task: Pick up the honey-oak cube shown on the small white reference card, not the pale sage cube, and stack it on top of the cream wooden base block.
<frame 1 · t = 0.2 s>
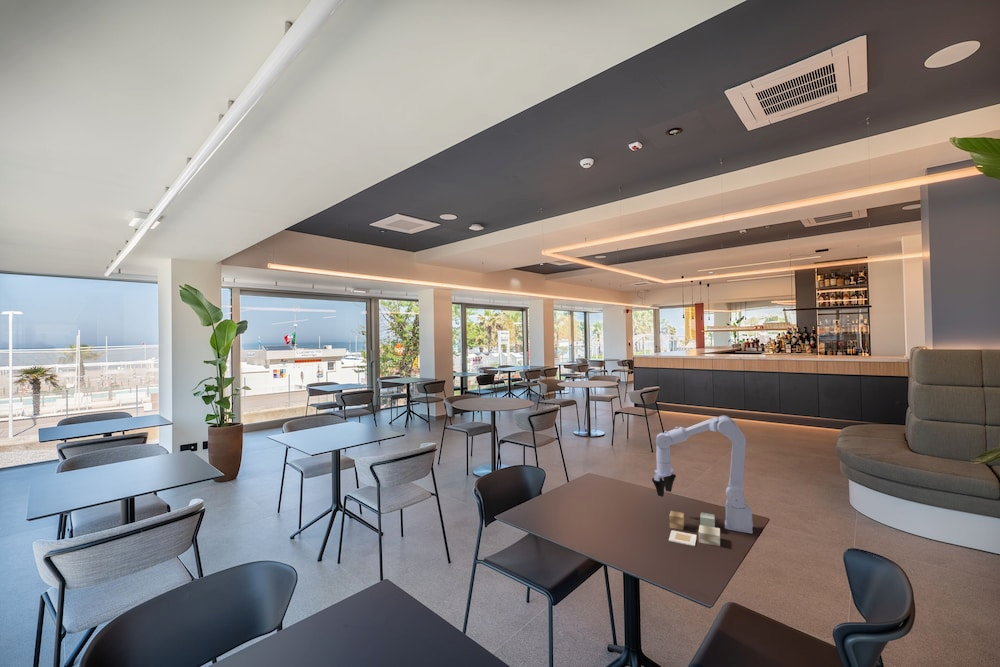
hand: (664, 493, 176), 10 cm above the table, tool pointing down, fingers open, 7 cm apart
sage cube: (707, 528, 165), on the table
base block: (709, 541, 155), on the table
reference card: (682, 538, 156), on the table
oak cube: (677, 526, 166), on the table
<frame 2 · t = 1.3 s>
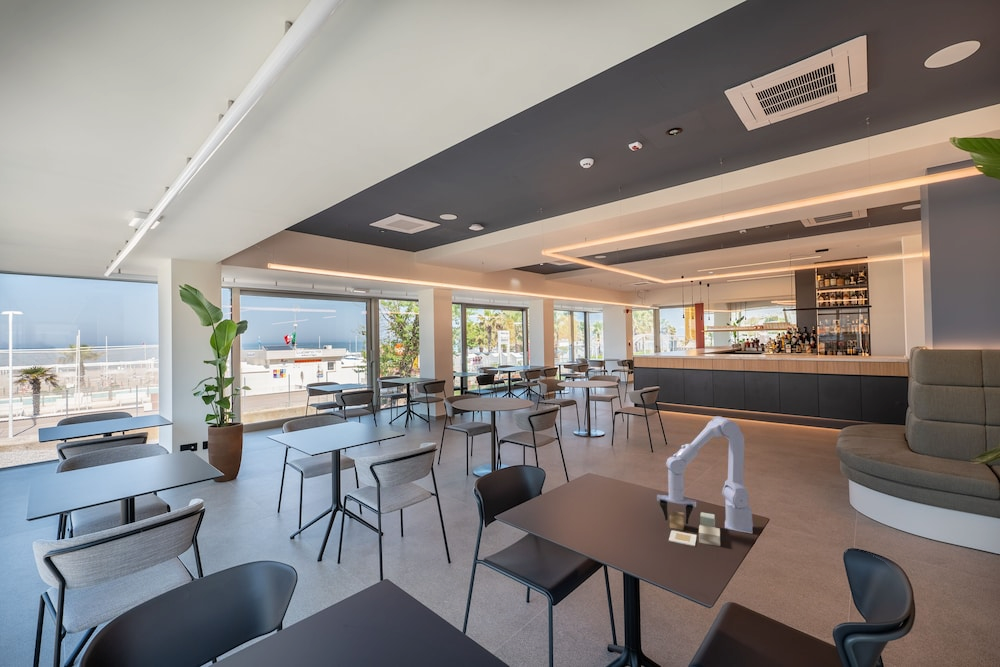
hand: (676, 521, 166), 2 cm above the table, tool pointing down, fingers open, 7 cm apart
nothing on the table moved.
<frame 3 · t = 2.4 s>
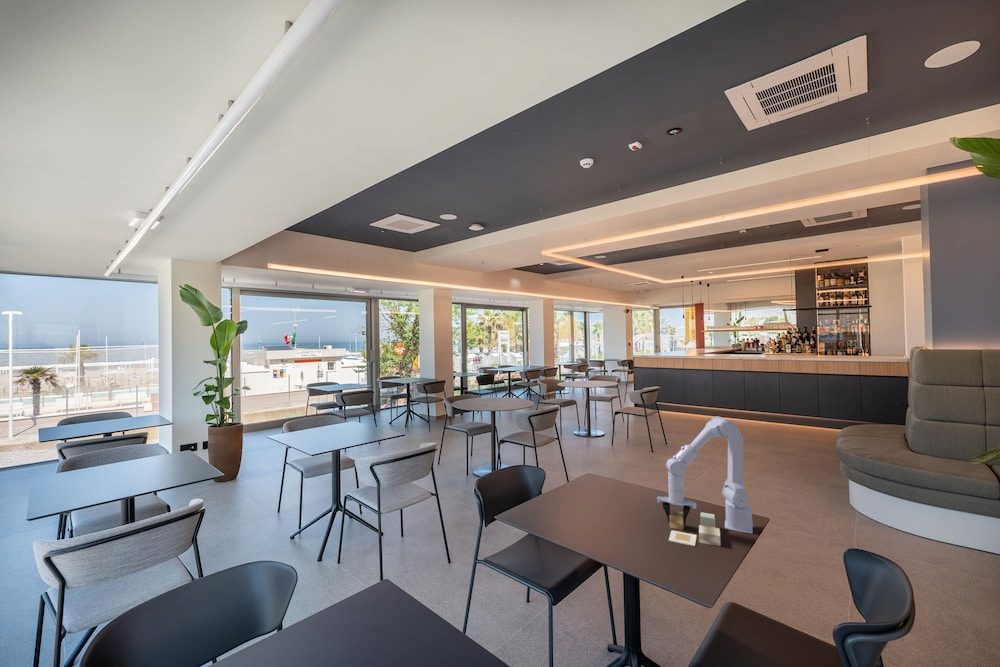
hand: (676, 522, 166), 1 cm above the table, tool pointing down, fingers closed on oak cube, 5 cm apart
oak cube: (677, 526, 166), on the table, touching gripper
everything else where it was.
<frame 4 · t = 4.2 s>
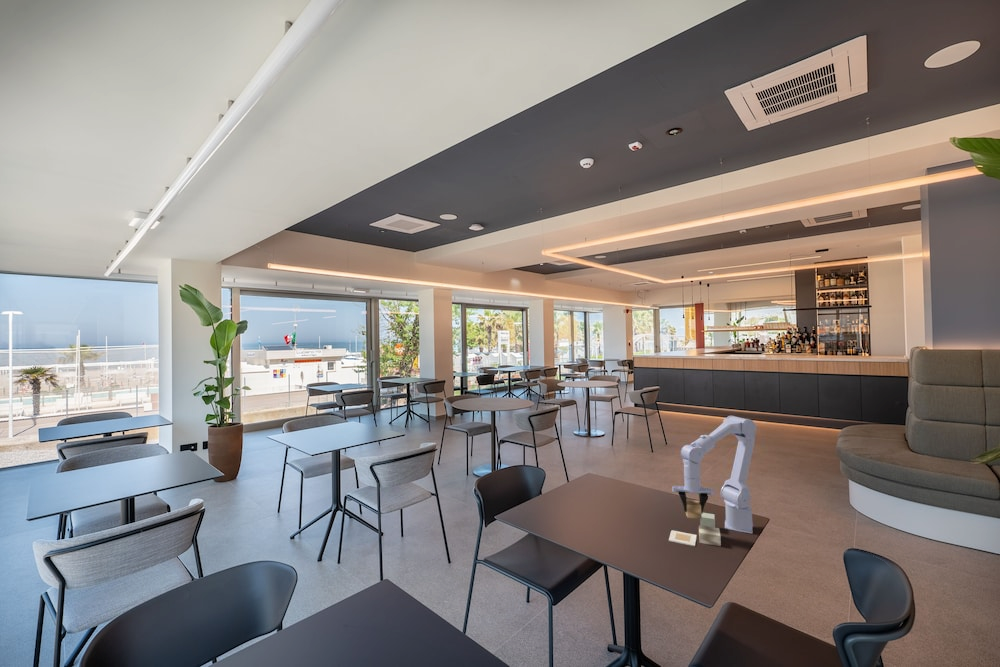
hand: (693, 511, 160), 8 cm above the table, tool pointing down, fingers closed on oak cube, 5 cm apart
oak cube: (693, 515, 160), point 7 cm above the table, touching gripper
everything else where it was.
when the fingers open (7 cm above the table, at t = 5.9 s): oak cube drops 2 cm, point 4 cm above the table.
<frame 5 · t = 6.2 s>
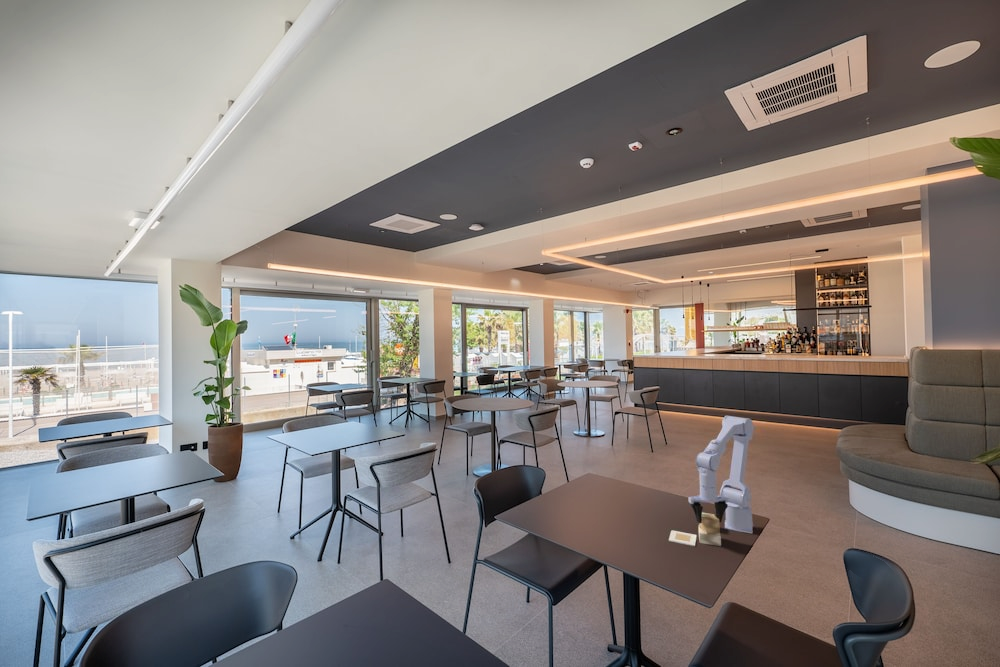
hand: (709, 521, 155), 7 cm above the table, tool pointing down, fingers open, 7 cm apart
oak cube: (709, 530, 155), point 4 cm above the table
everything else where it was.
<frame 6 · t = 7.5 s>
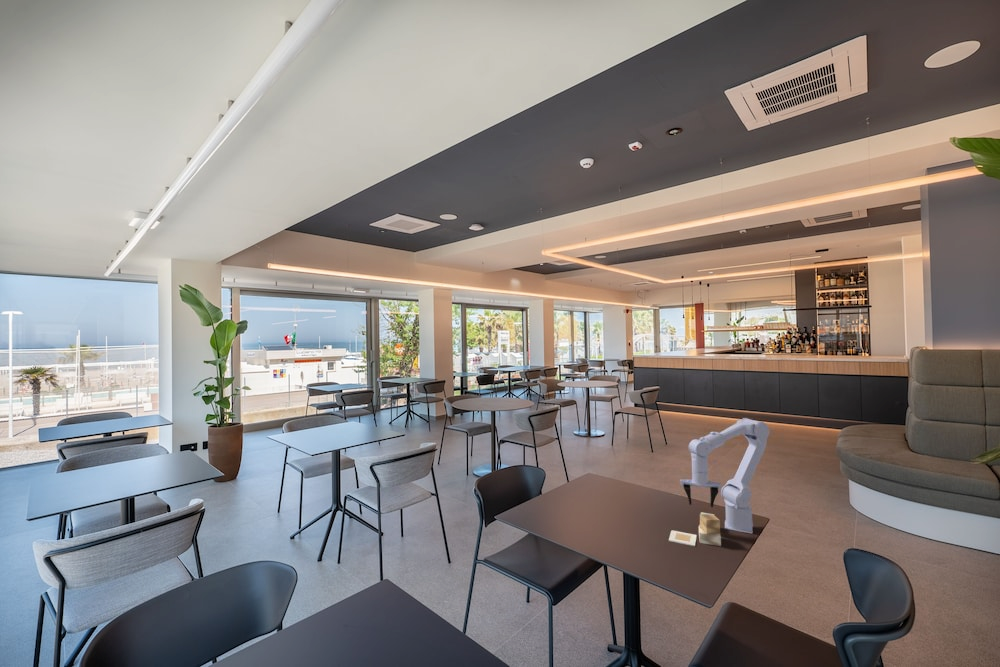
hand: (700, 505, 163), 10 cm above the table, tool pointing down, fingers open, 7 cm apart
base block: (709, 541, 155), on the table, touching oak cube
oak cube: (709, 530, 154), point 4 cm above the table, touching base block
everything else where it was.
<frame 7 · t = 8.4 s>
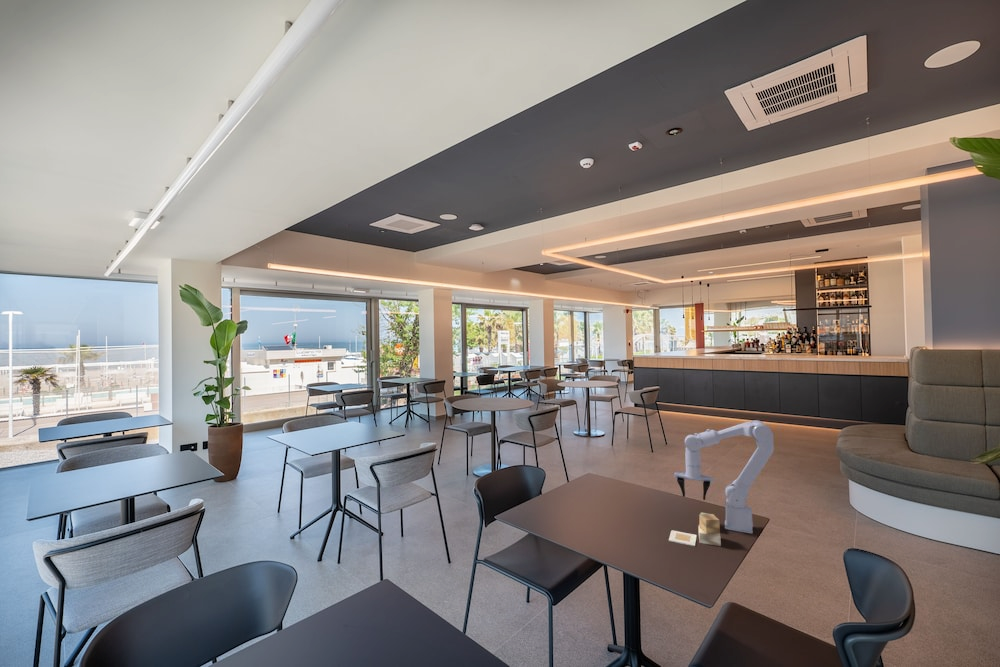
hand: (694, 497, 171), 10 cm above the table, tool pointing down, fingers open, 7 cm apart
nothing on the table moved.
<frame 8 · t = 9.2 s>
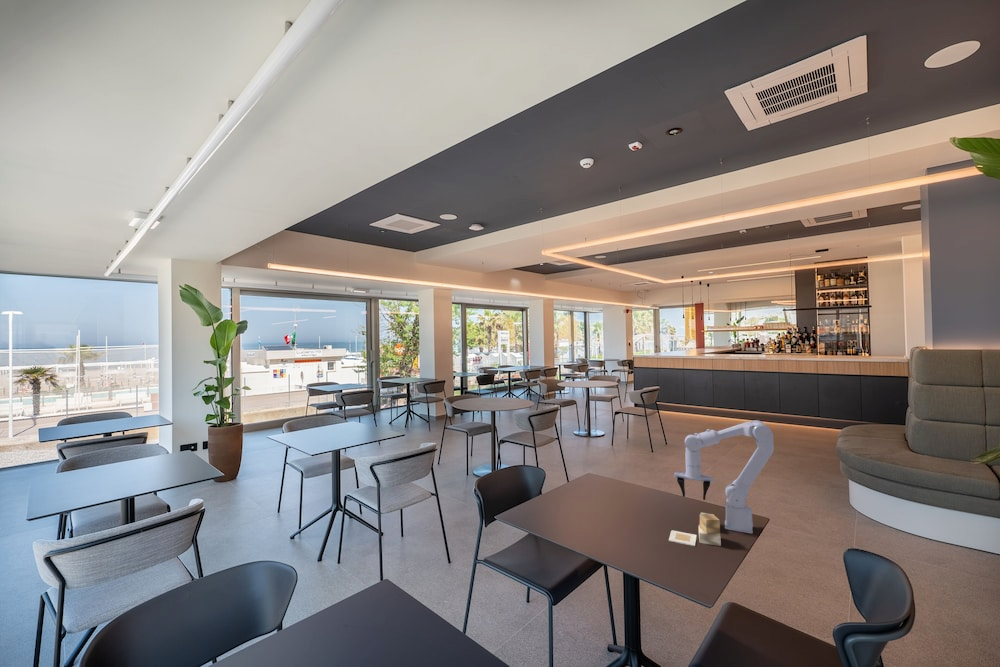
hand: (694, 497, 171), 10 cm above the table, tool pointing down, fingers open, 7 cm apart
nothing on the table moved.
at the end: oak cube 0.2 cm off-centre on the base block, point 4.0 cm above the base block's base; oak cube tilted 0°; the gripper is holding nothing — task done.
